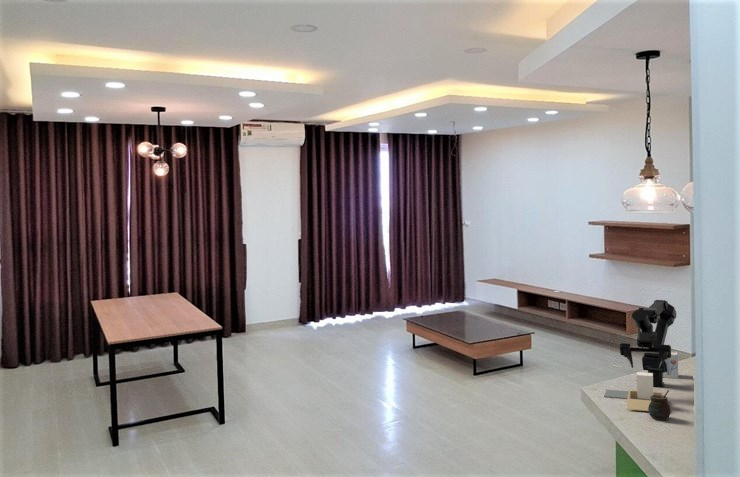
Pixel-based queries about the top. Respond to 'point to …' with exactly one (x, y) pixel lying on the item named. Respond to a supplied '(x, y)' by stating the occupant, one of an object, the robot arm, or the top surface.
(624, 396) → the mat
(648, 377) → the box
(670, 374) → the light bulb box
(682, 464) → the top surface
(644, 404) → the tan rectangular open frame
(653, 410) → the mate gourd
